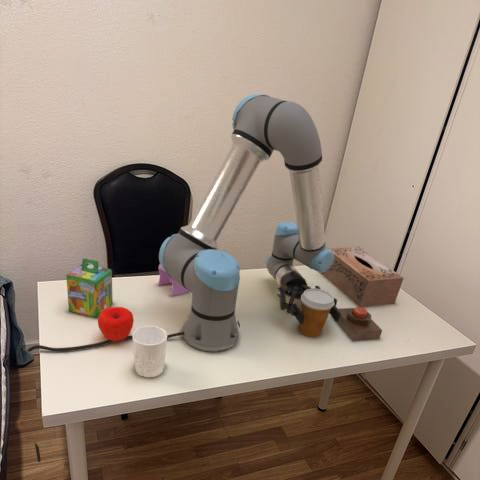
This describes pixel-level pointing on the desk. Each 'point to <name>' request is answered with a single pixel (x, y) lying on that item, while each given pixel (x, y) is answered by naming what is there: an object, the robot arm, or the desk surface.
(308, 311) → the disposable coffee cup
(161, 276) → the toy chair
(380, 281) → the tissue box cover
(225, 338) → the robot arm
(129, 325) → the apple
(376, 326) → the console
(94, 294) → the chalk box
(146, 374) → the white cup
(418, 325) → the desk surface
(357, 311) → the button
